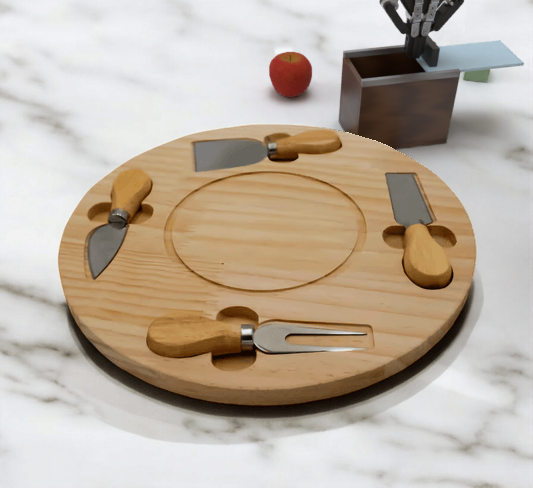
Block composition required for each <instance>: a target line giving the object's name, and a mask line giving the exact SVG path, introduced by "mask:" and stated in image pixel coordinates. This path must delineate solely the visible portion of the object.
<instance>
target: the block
mask: <svg viewBox="0 0 533 488" xmlns="http://www.w3.org/2000/svg"><path fill="white" fill-rule="evenodd" d="M490 73H491V69H487V70H478V71H469V72H463V80H464V81H471V82H480V83H488V81H489V76H490Z"/></svg>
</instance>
